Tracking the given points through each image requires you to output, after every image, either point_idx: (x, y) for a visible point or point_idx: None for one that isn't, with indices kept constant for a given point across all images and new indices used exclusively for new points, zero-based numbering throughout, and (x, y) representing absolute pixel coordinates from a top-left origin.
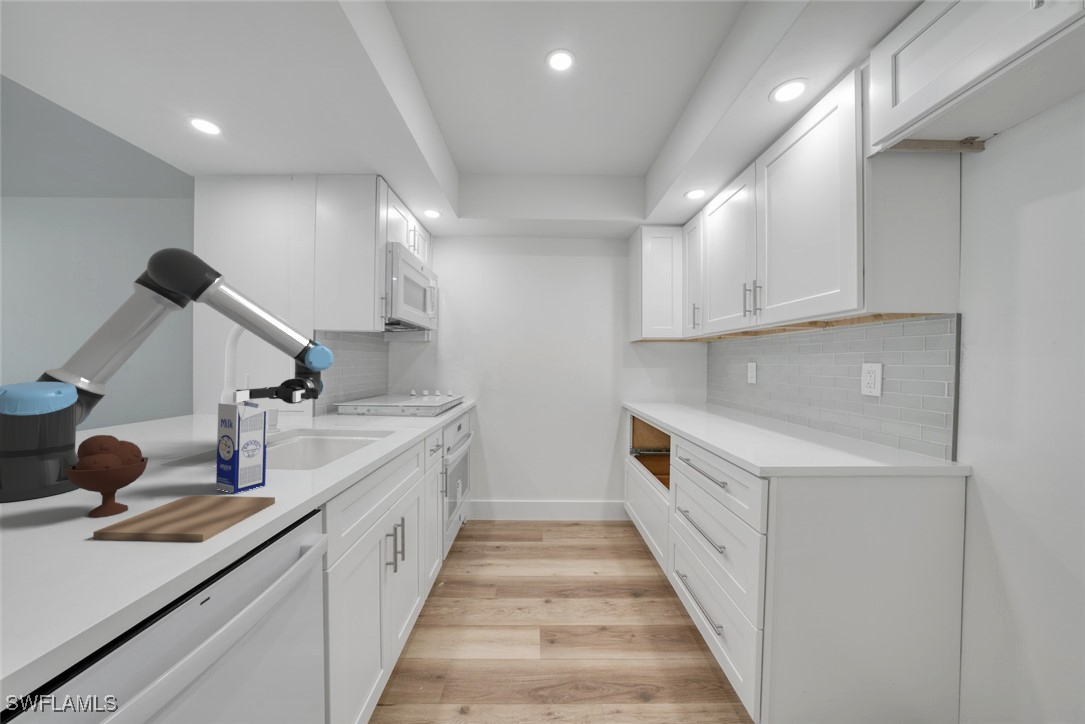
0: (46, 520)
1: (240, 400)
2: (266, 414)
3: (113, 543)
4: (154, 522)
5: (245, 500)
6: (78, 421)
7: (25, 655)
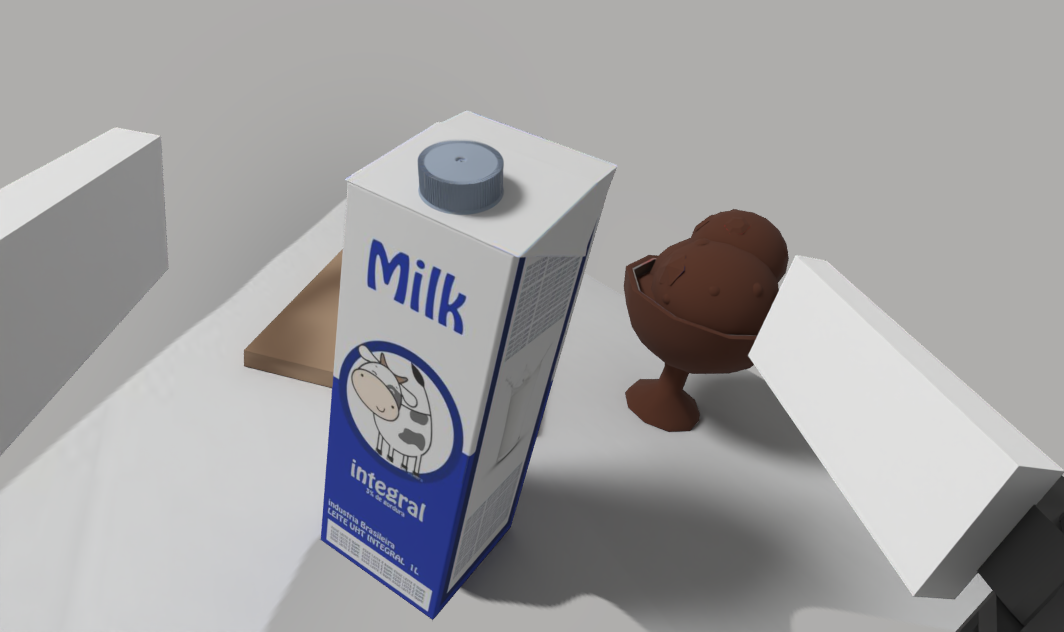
0: (739, 394)
1: (792, 396)
2: (348, 207)
3: None
4: None
5: (330, 349)
6: None
7: None
